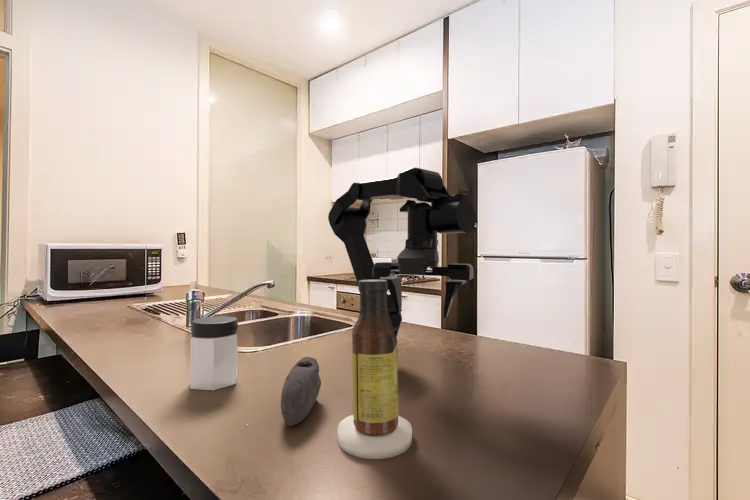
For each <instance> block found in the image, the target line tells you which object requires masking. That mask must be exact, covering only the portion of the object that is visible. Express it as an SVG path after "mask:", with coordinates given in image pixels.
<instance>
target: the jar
mask: <svg viewBox="0 0 750 500" xmlns="http://www.w3.org/2000/svg"><path fill="white" fill-rule="evenodd" d="M238 319H239V318H237V317H235V316H226V315H225V316H224V315H218V316H217V315H215V316H206V317H200V318H195V319H193V320H191V328H190V329H191V331H190V332H191V333H190V336H191V337H190V369H189V371H190V374H189V375H190V377H189V383H190V384H189V387H190V388H189V389H191V390H197V391H198V390H199V391H200V390H201V391H209V390H211V391H212V392H214V391H218V390H220V388H221V389H224V388H228V387H230V386H235V385H237V377H238V376H237V375H238V374H237V373H238V372H237V371H238V370H237V368H238V366H239V365H238V361H239V360H238V359H239V358H238V356H239V354H238V350H239V349H238V330H239V323H238V322H239V320H238ZM234 384H235V385H234ZM217 389H218V390H217ZM211 391H210V392H211Z"/></svg>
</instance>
